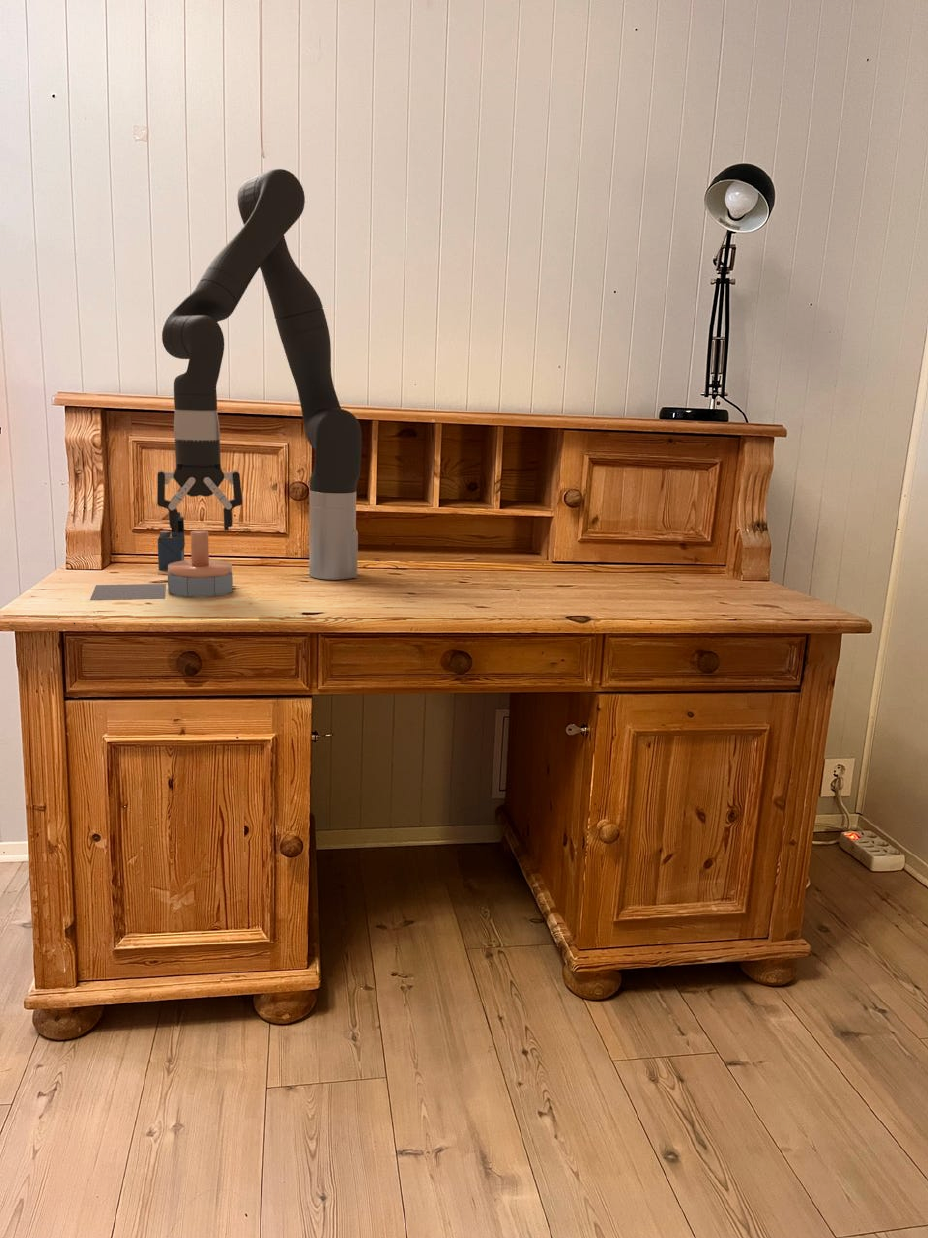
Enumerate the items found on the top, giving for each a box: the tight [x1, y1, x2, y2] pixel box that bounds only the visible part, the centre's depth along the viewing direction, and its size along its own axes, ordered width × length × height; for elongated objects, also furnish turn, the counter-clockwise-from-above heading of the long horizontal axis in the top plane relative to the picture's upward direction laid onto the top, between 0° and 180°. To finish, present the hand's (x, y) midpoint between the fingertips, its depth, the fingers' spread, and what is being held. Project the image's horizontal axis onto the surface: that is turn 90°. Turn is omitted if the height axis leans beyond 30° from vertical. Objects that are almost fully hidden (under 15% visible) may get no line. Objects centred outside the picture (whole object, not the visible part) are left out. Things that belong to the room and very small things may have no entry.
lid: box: [167, 530, 233, 578], centre depth 159 cm, size 11×11×7 cm
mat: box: [89, 583, 167, 601], centre depth 158 cm, size 12×12×1 cm
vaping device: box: [157, 511, 186, 572], centre depth 177 cm, size 3×5×12 cm, turn 89°
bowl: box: [167, 572, 234, 598], centre depth 161 cm, size 11×11×4 cm
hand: (201, 530), depth 158 cm, fingers open, 8 cm apart
